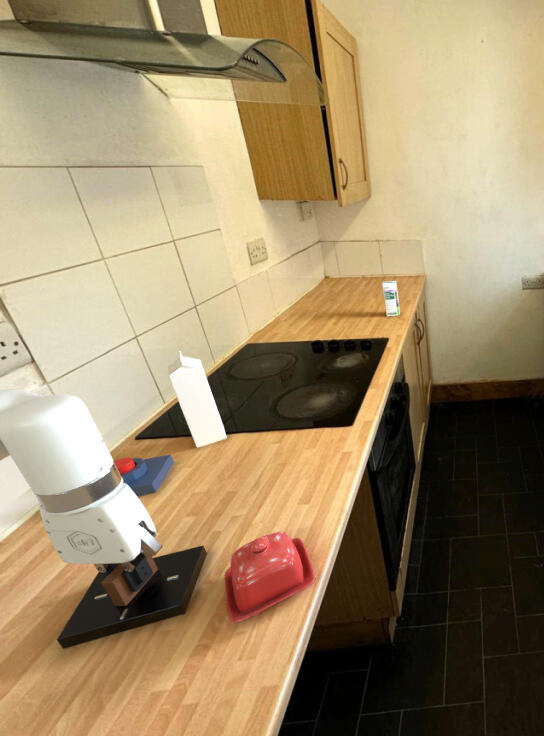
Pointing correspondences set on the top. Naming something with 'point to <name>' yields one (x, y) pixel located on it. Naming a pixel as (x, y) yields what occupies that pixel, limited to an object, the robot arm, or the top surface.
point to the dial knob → (122, 585)
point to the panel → (136, 600)
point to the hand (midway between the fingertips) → (134, 582)
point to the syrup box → (391, 298)
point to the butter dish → (266, 574)
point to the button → (125, 465)
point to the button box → (147, 474)
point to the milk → (196, 400)
